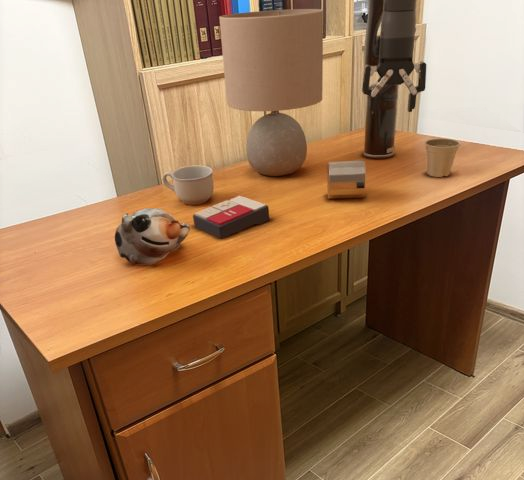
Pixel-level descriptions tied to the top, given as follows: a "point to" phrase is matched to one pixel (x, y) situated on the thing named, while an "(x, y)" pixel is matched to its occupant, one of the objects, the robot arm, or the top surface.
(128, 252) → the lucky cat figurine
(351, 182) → the pot
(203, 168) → the teacup
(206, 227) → the flat box
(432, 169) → the flower pot
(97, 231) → the top surface
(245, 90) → the lamp
